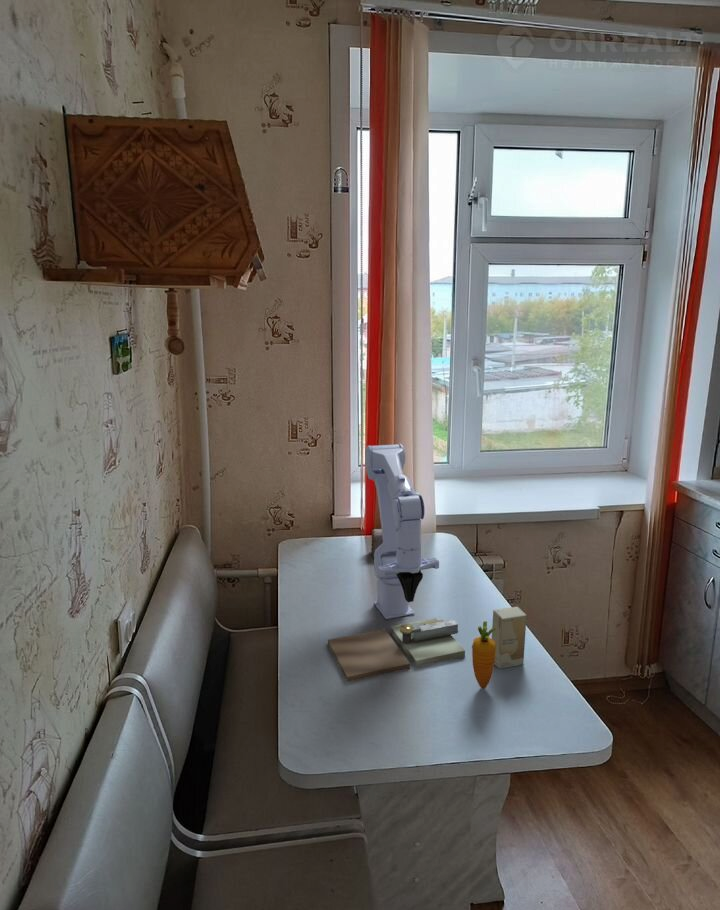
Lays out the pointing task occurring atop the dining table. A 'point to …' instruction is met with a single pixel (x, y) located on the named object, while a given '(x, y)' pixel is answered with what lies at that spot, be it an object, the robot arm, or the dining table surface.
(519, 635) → the skincare box
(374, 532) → the food item
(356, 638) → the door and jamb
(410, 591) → the robot arm
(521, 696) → the dining table surface
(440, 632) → the swing bar
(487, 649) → the carrot
